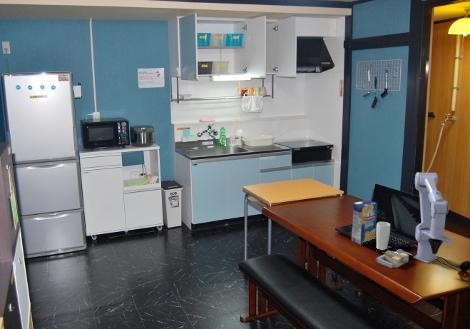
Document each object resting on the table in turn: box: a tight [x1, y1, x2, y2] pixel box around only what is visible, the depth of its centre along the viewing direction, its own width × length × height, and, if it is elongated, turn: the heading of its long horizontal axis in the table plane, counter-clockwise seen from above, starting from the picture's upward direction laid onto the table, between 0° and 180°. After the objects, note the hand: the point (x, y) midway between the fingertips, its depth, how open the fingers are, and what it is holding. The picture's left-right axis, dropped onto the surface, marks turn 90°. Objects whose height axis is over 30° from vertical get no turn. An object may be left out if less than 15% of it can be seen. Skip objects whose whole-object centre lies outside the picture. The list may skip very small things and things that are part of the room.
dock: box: [375, 250, 410, 269], centre depth 224 cm, size 14×9×2 cm, turn 127°
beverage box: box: [351, 199, 378, 246], centre depth 246 cm, size 7×11×22 cm, turn 120°
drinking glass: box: [375, 221, 391, 250], centre depth 234 cm, size 7×7×15 cm
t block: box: [384, 249, 410, 269], centre depth 223 cm, size 10×9×4 cm
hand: (434, 253), depth 210 cm, fingers closed
